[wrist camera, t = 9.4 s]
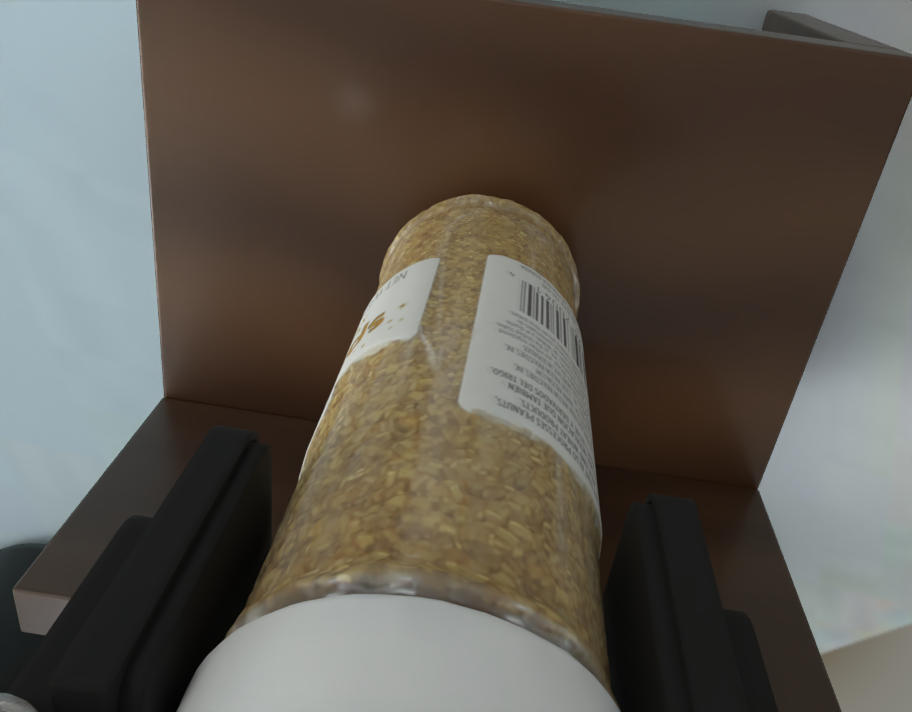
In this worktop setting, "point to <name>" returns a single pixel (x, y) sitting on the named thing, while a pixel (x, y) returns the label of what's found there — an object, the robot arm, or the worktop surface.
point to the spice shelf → (529, 184)
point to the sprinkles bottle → (439, 498)
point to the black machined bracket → (14, 613)
